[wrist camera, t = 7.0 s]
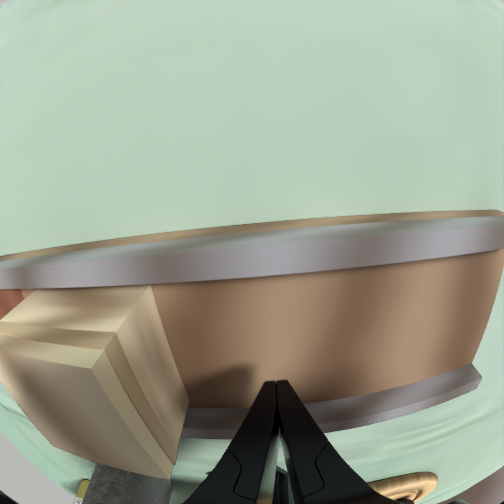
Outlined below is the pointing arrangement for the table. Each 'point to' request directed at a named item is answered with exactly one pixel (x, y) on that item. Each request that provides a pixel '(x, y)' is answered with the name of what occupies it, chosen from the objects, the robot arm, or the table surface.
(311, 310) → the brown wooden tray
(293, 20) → the table surface
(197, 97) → the table surface
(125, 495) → the flask
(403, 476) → the wooden plate with food
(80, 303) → the cream square block
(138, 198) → the table surface
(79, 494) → the tree log
